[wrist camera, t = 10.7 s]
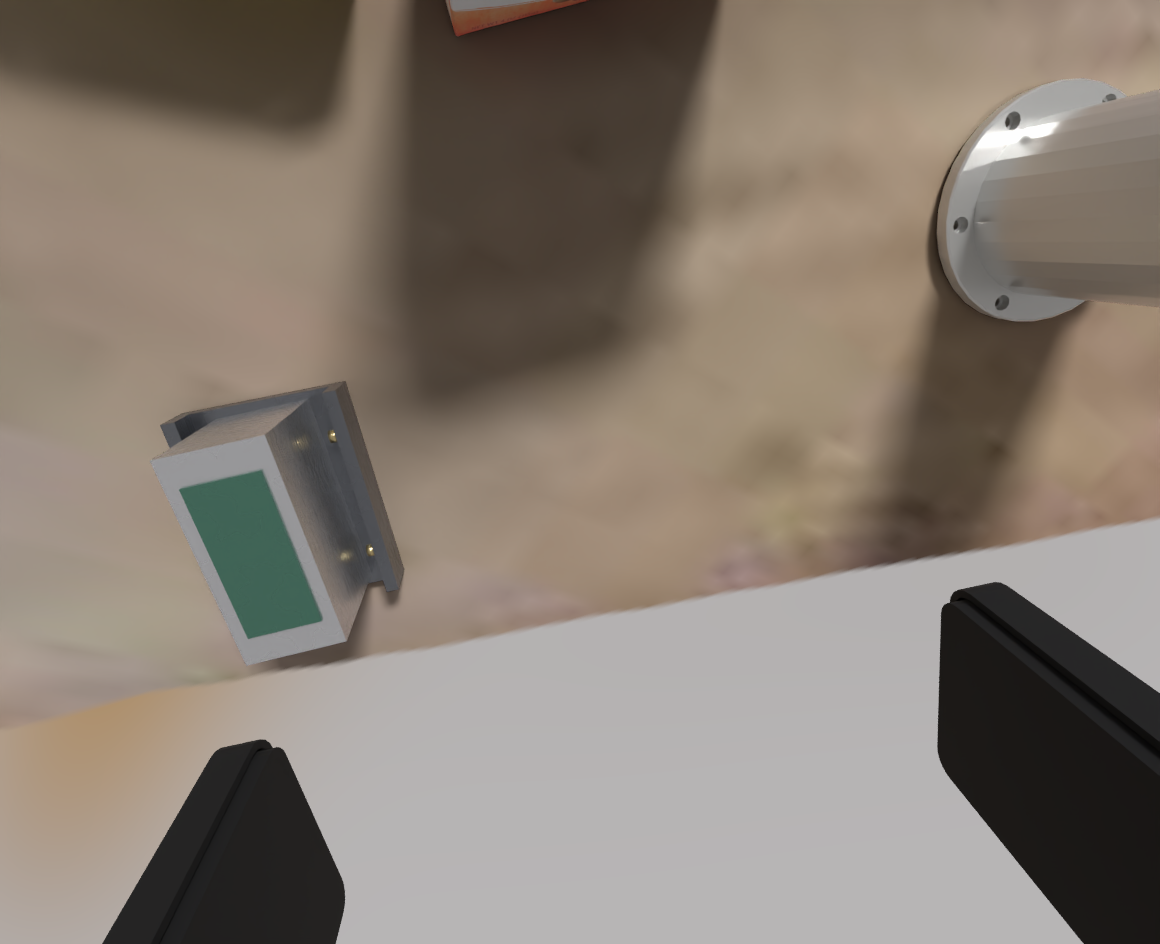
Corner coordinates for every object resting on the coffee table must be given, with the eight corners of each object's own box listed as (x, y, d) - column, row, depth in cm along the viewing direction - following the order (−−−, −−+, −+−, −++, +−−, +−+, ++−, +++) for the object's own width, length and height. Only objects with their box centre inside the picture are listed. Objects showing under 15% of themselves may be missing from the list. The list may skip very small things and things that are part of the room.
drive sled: (345, 381, 35) (335, 390, 33) (404, 569, 39) (398, 589, 37) (181, 413, 35) (159, 425, 32) (259, 600, 39) (244, 622, 37)
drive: (308, 398, 34) (263, 435, 28) (371, 573, 38) (345, 642, 32) (215, 419, 34) (148, 462, 27) (289, 593, 38) (245, 667, 31)
